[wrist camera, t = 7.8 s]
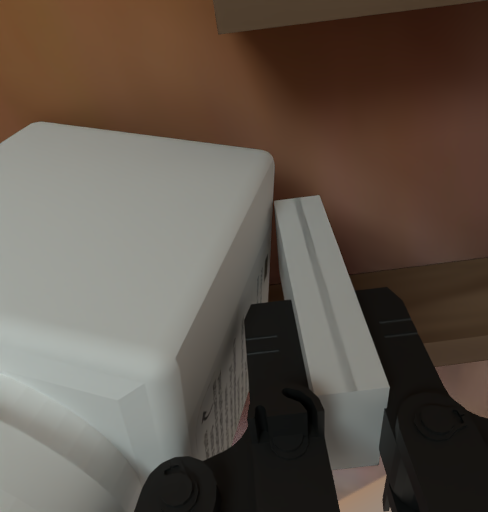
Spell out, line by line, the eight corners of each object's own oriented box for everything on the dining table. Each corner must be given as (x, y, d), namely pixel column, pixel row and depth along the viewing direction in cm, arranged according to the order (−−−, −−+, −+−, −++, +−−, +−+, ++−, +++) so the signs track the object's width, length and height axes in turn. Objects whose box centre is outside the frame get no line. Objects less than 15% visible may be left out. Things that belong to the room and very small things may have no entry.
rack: (204, -71, 12) (207, -54, 8) (793, -145, 12) (1012, -154, 8) (251, 312, 20) (261, 389, 17) (584, 269, 20) (653, 338, 17)
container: (87, 295, 19) (-249, 725, 9) (33, 115, 14) (-788, 624, 4) (268, 334, 17) (90, 902, 8) (278, 146, 13) (-170, 1050, 3)
